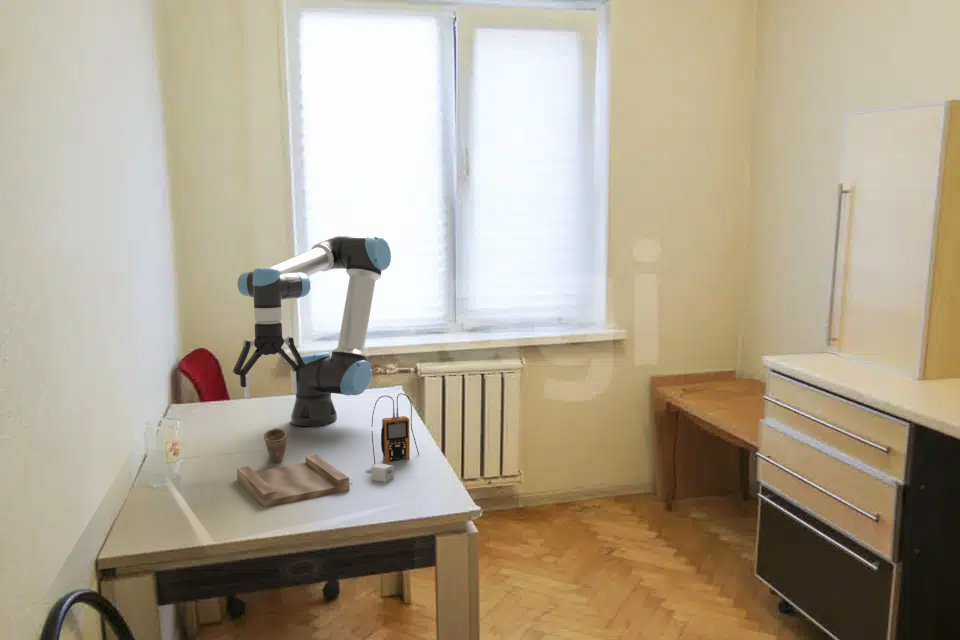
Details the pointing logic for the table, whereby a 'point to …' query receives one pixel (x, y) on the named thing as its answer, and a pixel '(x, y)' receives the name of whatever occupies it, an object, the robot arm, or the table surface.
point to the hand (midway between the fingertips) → (270, 395)
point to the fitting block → (293, 481)
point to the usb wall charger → (382, 472)
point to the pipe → (276, 443)
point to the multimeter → (395, 436)
